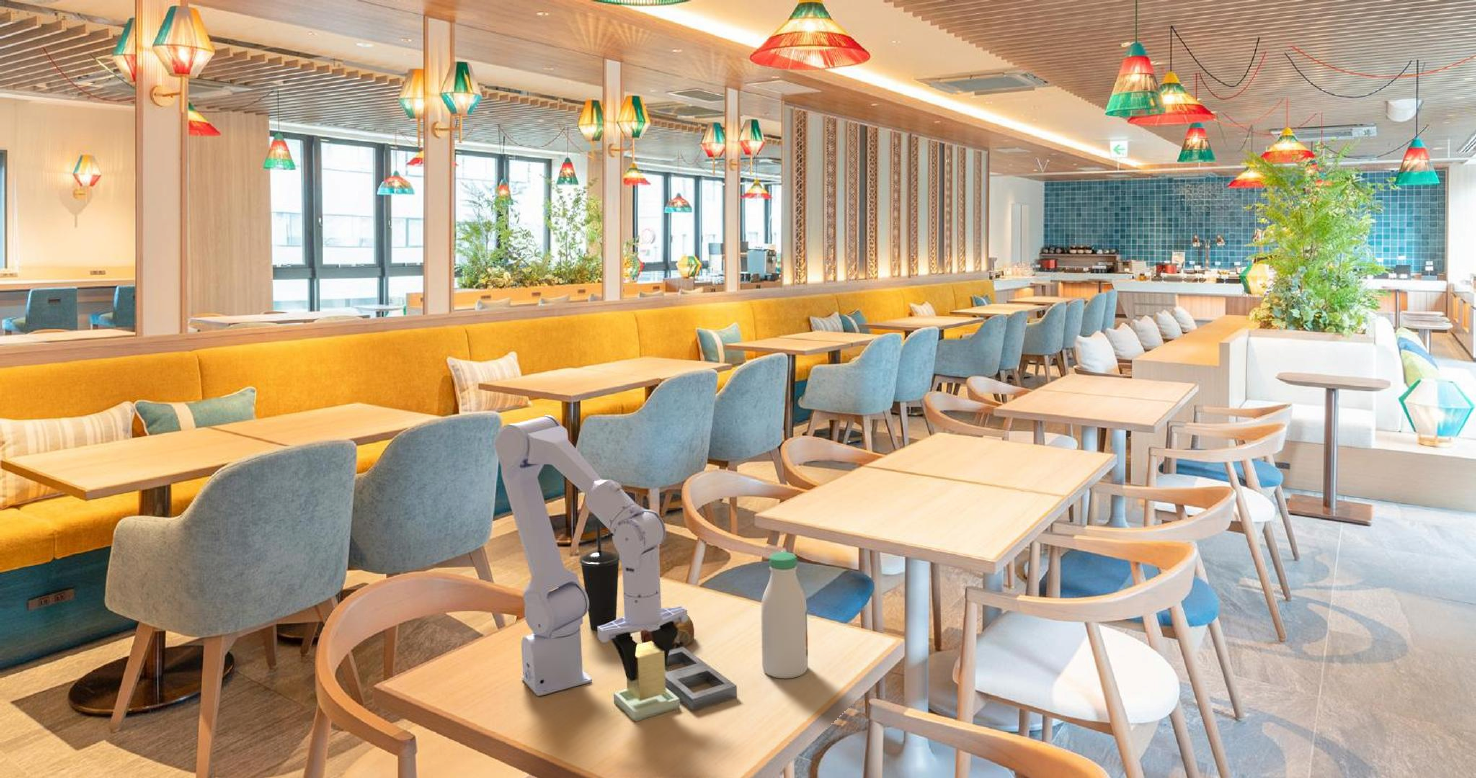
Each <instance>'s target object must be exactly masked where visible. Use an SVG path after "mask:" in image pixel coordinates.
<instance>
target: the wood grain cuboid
mask: <svg viewBox="0 0 1476 778" xmlns="http://www.w3.org/2000/svg"><path fill="white" fill-rule="evenodd" d="M635 668H636V677H635V680H633V681H631V680H629V679H628V678H627V677H626V689H627V690H628V691H629V692H630V693H631V694H632V695H633V696H635V697H636V698H637V699H638V700H639V701H642V700H645V699H649V698H652V697H655V696H659V695H662V694H665V693H666V685H665V670H666V667H665V659H664V650H662V649H661V648H660V647H658V646H657V645H656V644H654V643H653V642H652V641H649V642H646V643H642V642H641V643H637V647H636V655H635Z"/></svg>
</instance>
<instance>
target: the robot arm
mask: <svg viewBox="0 0 1476 778" xmlns="http://www.w3.org/2000/svg"><path fill="white" fill-rule="evenodd" d="M497 433H498V434H497V435H496V438H495V439H494V441H493V444H494V448H495V452H496V455H497V458H498V462H499V465H500V470H501V472H500V473H501V474H500V475H501V478H502V481H503V484H504V487H505V491H506V495H507V499H508V502H509V505H510V509H511V513H512V515H513V519H514V522H515V526H516V528H517V532H518V535H519V539H520V542H521V546H522V549H523V553H524V556H525V559H526V563H527V568H528V570H529V573H530V577H531V578H530V579H529V582H528V583H527V585H526V587H525V589H524V590H523V593H522V598H523V601H524V618H525V622H526V624H527V626H528V628H529V630H531V631H532V633H530V634H527V635H525V636H523V637H522V639H521V662H522V663H521V664H522V676H521V679H522V680H523V681H524V683H525V684H526V685H527V686H528V687H529V689H530V690H531V691H533V693H534V694H535V695H536V696H537V697H540V696H544V695H548V694H551V693H555V692H559V691H562V690H566V689H570V688H573V687H576V686H580V685H584V684H588V683H590V682H592V681H593V680H592V677H591V676H590V675H589V674H588V673H586V672H585V671H584V669H583V651H582V635H581V625H582V624H583V623H584V619H583V618H584V617H585V616H586V615H587V613H588V609H589V599H588V595H587V593H586V591H585V587H583V586H582V584H581V582H580V580H579V576H578V573H576V572H575V571H573V570H570V569H568V568H566V567H565V566H564V562H563V560H562V559H563V558H562V556H561V553H560V550H559V546H558V543H557V539H556V536H555V532H554V530H553V526H552V523H551V519H550V516H549V513H548V509H547V505H546V502H545V498H544V495H543V491H542V488H541V484H540V482H539V478H538V477H539V475H540V473H541V471H542V469H543V467H544V465H551V466H553V467H554V468H555V469H556V470H557V471H558V472H559V473H561V475H563V476H564V477H565V479H566V478H567V480H568V481H570V482H571V483H572V484H573V485H574V486H575V487H576V488H577V489H579V491H581V492H582V493H583V494H585V506H586V507H587V508H588V509H589V510H590V511H591V513H592V514H593V515H594V516H595V517H596V518H597V519H599V521H600V522H601V523H602V524H603V525H604V526H605V527H606V529H608V530H609V531H610V533H611V534H613V535H612V536H611V538H612V542H613V545H614V548H615V549H616V551H617V553H618V554H619V557H620V560H619V563H621V567H622V569H621V570H622V571H621V572H622V587H623V588H622V590H623V611H624V612H623V613H624V615H623V616H620V617H619V618H616V620H614V621H612V622H610V623H607V624H605V625H602V626H598V627H597V630H598V631H597V639H598V640H599V641H600V642H601V643H607V642H610V640H611V642H612V644H613V645H614V648H615V649H616V650H617V653H618V655H619V657H620V661H621V663H622V666H623V669H624V673H625V674H624V675H625V678H626V679H627V678H628V679H629V680H631V681H633V680H635V677H636V668H635V655H636V647H637V645H638V643H637V642H636V641H635V640H634V639H633V636H632V634H635V633H639V632H641V631H643V630H647V631H652V637H653V643H654V644H656V645H657V646H658V647H660V648H661V649H662V650H664V659H665V668H667V667H666V662H667V658H668V654H669V651H670V648H671V646H672V644H673V642H674V640H675V638H676V636H677V635H678V628H677V627H675V626H674V623H675V622H679V621H680V622H686V621H687V615H688V609H687V608H685V607H683V606H682V605H681V606H676V607H675V606H674V607H664V608H665V609H661V608H662V594H661V573H660V572H661V567H660V545H661V544H662V543H663V542H664V541H665V539H666V536H667V530H666V525H665V522H664V520H663V519H662V517H661V516H660V515H659V513H658V512H657V511H655V510H652V509H646V508H644V507H643V506H640V505H639V504H637V503H636V502H635V501H634V500H633V499H632V497H630V496H629V495H628V494H627V493H626V492H625V491H624V490H623V489H622V485H621V484H620V483H619V482H618V481H614V480H613V479H602V478H601V476H599V474H598V473H597V472H596V471H595V470H594V468H592V466H591V465H590V464H589V463H588V462H587V460H586V458H584V457H583V456H582V454H581V453H580V452H579V451H578V450H577V448H576V447H575V446H574V445H573V443H571V442H570V440H569V433H568V429H567V428H566V427H564V426H563V425H562V424H561V422H559V420H558V419H557V418H556V417H554V416H552V415H547V414H546V415H543V416H542V415H541V416H540V417H538V418H532V419H528V420H524V421H519V422H516V423H507V424H505V425H504V426H502V427H501V428H500V430H499V432H497Z"/></svg>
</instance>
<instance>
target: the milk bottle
mask: <svg viewBox="0 0 1476 778" xmlns="http://www.w3.org/2000/svg"><path fill="white" fill-rule="evenodd" d="M797 557H798V556H797V555H796V554H794V553H791V552H787V551H782V552H780V551H779V552H774V553H772V554H770V555H769V563H768V564H769V570H770V577H769V580H768V583H767V586H766V588H765V590H764V593H763V595H762V599H761V616H760V618H761V624H760V625H761V626H760V627H761V628H760V631H761V666H762V670H763V672H764V673H765V674H766V675H768V676H770V677H773V678H776V679H793V678H797V677H800V676H802V675H804V674H805V673H806V672H807V670H808V667H809V659H808V658H809V652H808V651H809V649H808V647H809V646H808V645H809V644H808V643H809V642H808V640H809V639H808V636H809V635H808V611H807V610H808V608H807V606H808V605H807V601H806V595H805V593H804V591H803V588H802V586H801V584H800V582H799V579H798V576H797V569H798V558H797Z"/></svg>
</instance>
